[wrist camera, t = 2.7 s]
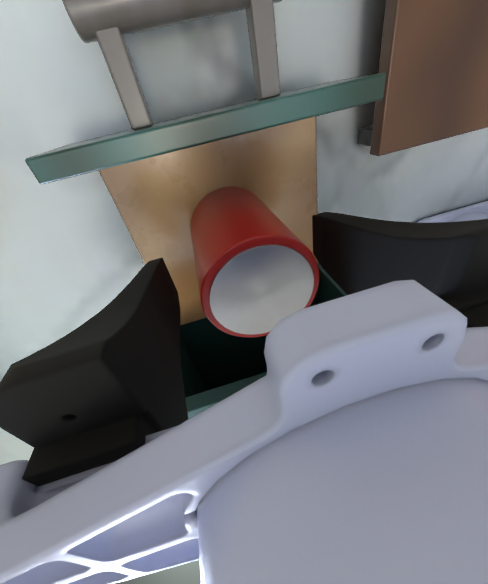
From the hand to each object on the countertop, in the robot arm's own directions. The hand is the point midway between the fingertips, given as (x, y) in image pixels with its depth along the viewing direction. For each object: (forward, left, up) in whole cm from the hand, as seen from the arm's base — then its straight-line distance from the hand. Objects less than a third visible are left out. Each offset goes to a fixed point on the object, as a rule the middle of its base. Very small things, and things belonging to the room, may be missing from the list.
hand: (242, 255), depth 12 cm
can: (0, 0, -3) cm, 3 cm away
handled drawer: (0, -2, -4) cm, 5 cm away
